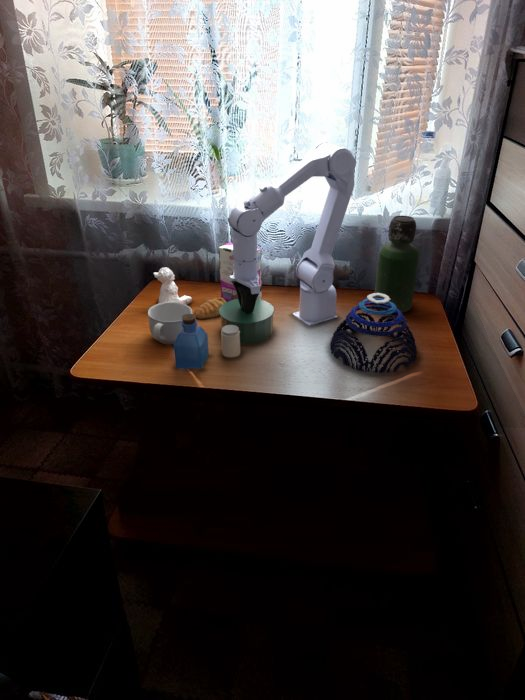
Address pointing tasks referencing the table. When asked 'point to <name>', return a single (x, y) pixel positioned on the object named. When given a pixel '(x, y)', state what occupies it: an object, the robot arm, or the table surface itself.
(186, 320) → the perfume bottle
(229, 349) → the salt shaker
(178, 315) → the teacup
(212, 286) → the table surface
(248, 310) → the robot arm
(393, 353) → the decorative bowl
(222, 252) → the candy bar box
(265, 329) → the pot
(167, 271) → the seated beast figurine
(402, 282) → the green bottle
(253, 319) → the lid
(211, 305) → the pastry
